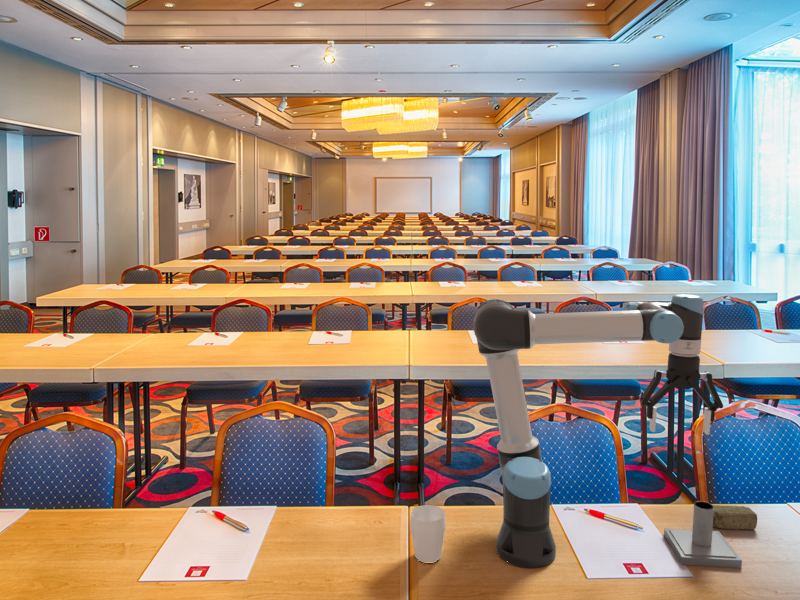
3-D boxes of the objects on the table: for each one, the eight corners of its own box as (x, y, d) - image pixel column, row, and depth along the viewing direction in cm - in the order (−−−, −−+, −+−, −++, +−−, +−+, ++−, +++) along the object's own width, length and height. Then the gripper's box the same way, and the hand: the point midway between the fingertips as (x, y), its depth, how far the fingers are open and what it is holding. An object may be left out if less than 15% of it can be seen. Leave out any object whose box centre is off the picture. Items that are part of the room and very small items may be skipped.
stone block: (758, 531, 164) (759, 514, 163) (714, 530, 165) (715, 513, 164) (747, 521, 169) (748, 504, 169) (705, 520, 170) (706, 503, 170)
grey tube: (688, 538, 156) (690, 500, 155) (706, 538, 156) (708, 500, 155) (696, 547, 152) (699, 509, 150) (714, 547, 151) (717, 509, 150)
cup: (450, 552, 155) (450, 508, 153) (438, 570, 147) (438, 524, 145) (418, 544, 159) (418, 502, 157) (404, 562, 151) (404, 517, 149)
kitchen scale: (681, 564, 148) (682, 556, 148) (663, 535, 162) (664, 527, 162) (741, 567, 146) (742, 559, 146) (718, 538, 160) (718, 529, 160)
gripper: (637, 355, 154) (633, 433, 157) (741, 358, 151) (734, 439, 153) (631, 349, 162) (626, 424, 164) (729, 352, 158) (723, 429, 161)
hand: (678, 431), depth 159 cm, fingers open, 13 cm apart
